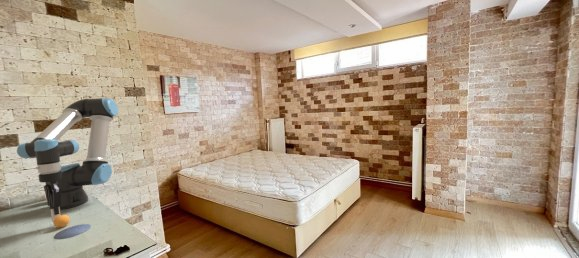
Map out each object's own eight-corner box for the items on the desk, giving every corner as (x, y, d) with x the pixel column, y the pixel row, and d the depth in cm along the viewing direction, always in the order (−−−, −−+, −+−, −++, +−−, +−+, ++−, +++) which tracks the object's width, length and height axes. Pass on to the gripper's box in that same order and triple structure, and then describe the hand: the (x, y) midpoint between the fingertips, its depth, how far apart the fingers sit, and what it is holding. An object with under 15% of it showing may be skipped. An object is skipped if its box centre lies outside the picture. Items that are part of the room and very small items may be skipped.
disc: (64, 227, 107) (64, 227, 107) (95, 222, 111) (95, 222, 111) (46, 241, 96) (46, 241, 96) (82, 235, 99) (82, 235, 99)
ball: (60, 211, 107) (64, 219, 105) (70, 213, 112) (74, 221, 110) (47, 220, 105) (52, 229, 104) (58, 222, 110) (63, 230, 108)
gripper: (33, 172, 107) (40, 221, 109) (43, 175, 101) (51, 227, 103) (55, 168, 114) (61, 214, 116) (66, 171, 108) (72, 219, 110)
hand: (56, 220), depth 109 cm, fingers closed
